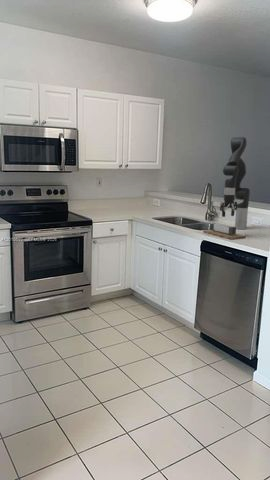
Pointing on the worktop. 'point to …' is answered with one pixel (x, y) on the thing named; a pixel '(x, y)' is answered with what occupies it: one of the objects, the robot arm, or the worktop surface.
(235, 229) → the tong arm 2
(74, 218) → the worktop surface
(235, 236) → the tong rest
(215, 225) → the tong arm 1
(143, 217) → the worktop surface
